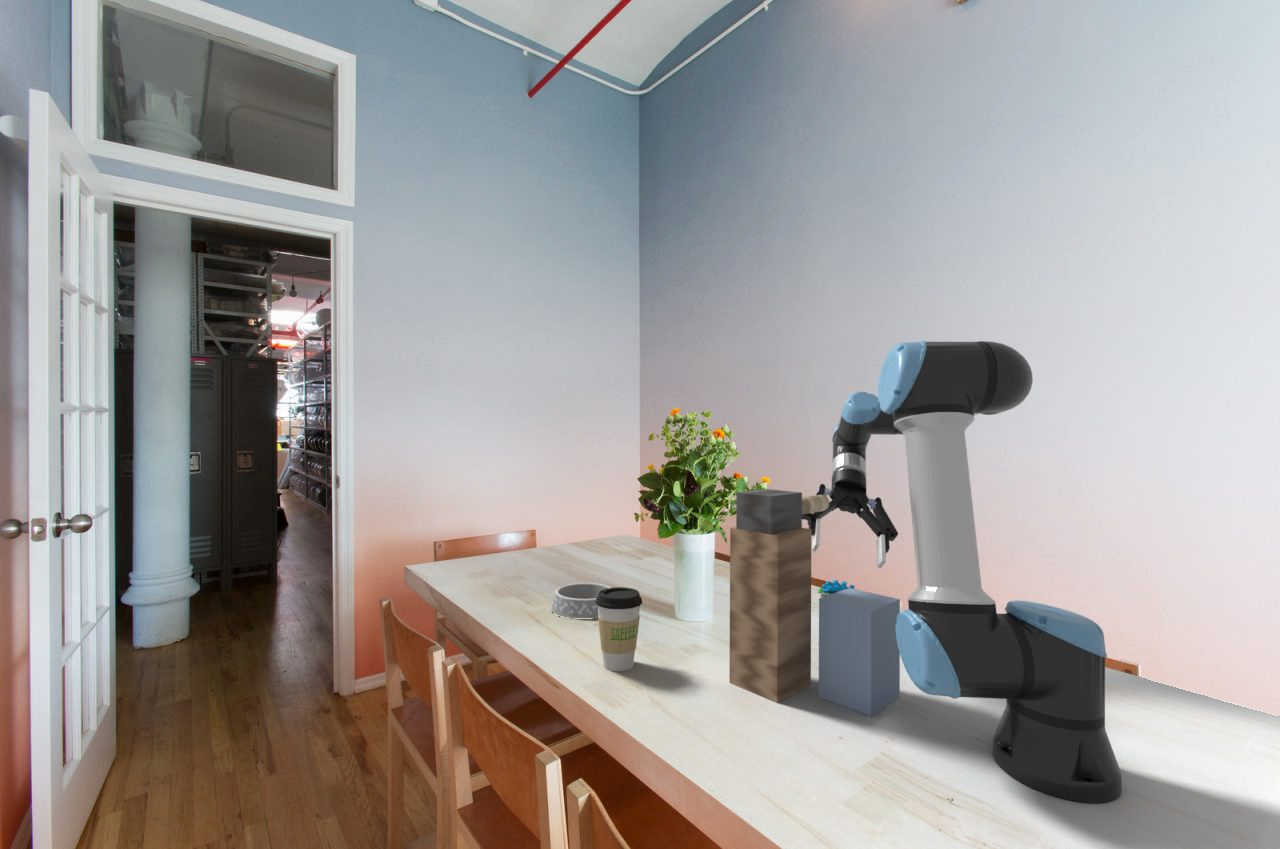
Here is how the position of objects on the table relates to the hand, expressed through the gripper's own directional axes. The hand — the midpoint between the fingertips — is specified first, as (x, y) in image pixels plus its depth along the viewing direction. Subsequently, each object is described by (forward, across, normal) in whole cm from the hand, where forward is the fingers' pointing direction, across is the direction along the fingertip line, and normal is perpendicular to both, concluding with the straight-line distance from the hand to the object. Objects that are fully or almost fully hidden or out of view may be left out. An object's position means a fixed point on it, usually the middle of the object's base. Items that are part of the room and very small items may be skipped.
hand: (848, 556), depth 120 cm
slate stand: (+26, -4, -5) cm, 27 cm away
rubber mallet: (+1, +14, +7) cm, 16 cm away
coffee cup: (+28, +41, -18) cm, 53 cm away
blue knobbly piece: (-15, -13, -47) cm, 51 cm away
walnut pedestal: (+26, +12, -10) cm, 30 cm away
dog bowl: (+6, +56, -47) cm, 73 cm away
